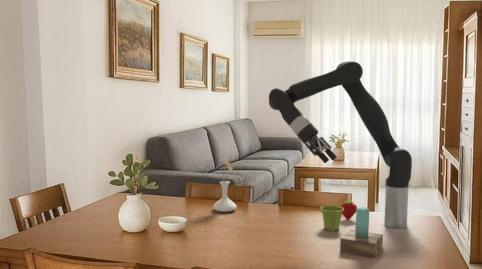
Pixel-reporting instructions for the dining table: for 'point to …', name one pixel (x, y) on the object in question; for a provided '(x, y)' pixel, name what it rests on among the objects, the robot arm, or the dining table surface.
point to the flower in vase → (225, 194)
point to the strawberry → (348, 209)
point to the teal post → (362, 222)
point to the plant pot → (332, 217)
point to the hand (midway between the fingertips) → (331, 160)
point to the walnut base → (361, 244)
